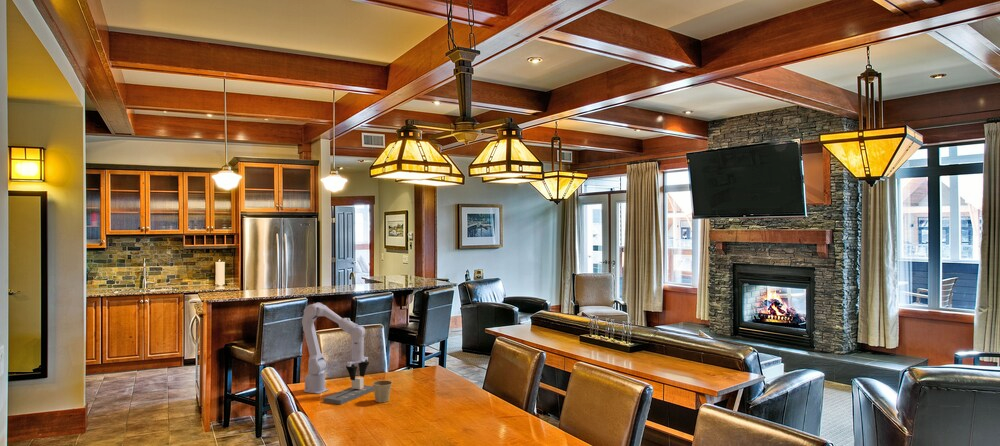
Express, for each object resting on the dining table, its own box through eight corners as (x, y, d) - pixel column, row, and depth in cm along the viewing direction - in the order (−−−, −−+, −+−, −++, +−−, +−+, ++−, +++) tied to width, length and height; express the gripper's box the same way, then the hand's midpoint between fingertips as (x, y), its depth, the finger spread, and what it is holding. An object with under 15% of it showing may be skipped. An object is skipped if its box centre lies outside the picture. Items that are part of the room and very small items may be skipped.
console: (323, 402, 270) (323, 397, 270) (358, 388, 294) (358, 384, 294) (340, 404, 266) (340, 400, 266) (374, 390, 290) (374, 386, 290)
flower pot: (394, 398, 276) (394, 380, 277) (389, 404, 267) (389, 385, 267) (375, 397, 277) (375, 379, 277) (369, 403, 268) (369, 385, 268)
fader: (351, 388, 285) (351, 378, 285) (355, 386, 288) (355, 376, 288) (359, 389, 283) (359, 379, 283) (363, 387, 286) (363, 377, 286)
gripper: (355, 354, 277) (354, 382, 277) (373, 348, 291) (372, 375, 290) (343, 353, 280) (343, 380, 280) (361, 347, 293) (361, 374, 293)
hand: (357, 378), depth 285 cm, fingers open, 7 cm apart
